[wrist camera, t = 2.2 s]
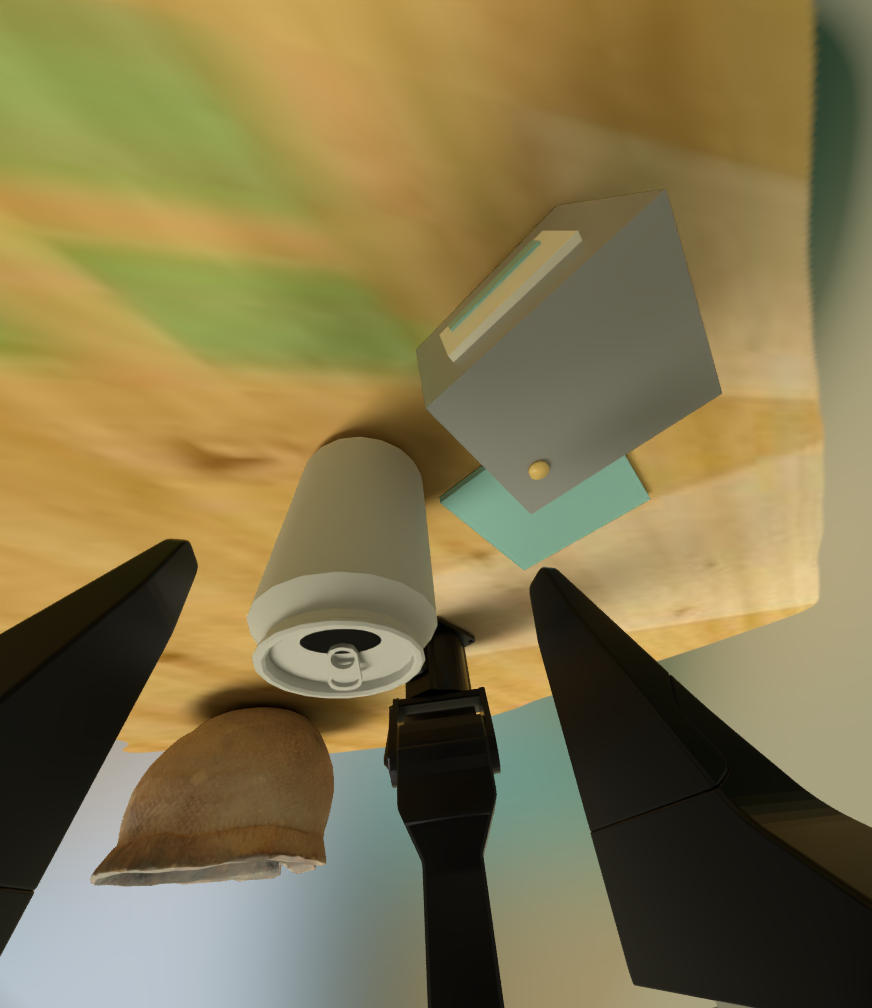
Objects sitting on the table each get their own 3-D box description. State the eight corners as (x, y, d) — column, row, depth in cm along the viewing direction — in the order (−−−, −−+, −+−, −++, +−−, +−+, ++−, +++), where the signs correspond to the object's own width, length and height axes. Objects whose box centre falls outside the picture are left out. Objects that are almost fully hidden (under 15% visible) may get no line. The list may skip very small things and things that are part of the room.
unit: (619, 341, 17) (726, 395, 11) (495, 438, 20) (532, 517, 14) (552, 195, 13) (666, 169, 7) (410, 343, 16) (417, 402, 10)
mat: (645, 494, 24) (650, 499, 24) (522, 564, 28) (524, 570, 28) (583, 388, 18) (588, 392, 18) (439, 497, 22) (440, 502, 22)
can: (426, 431, 19) (452, 613, 10) (419, 522, 24) (434, 702, 15) (293, 427, 18) (191, 623, 9) (315, 523, 23) (261, 715, 14)
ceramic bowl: (304, 745, 55) (280, 879, 44) (153, 733, 45) (72, 901, 34) (370, 699, 45) (361, 859, 33) (194, 670, 35) (96, 882, 24)
